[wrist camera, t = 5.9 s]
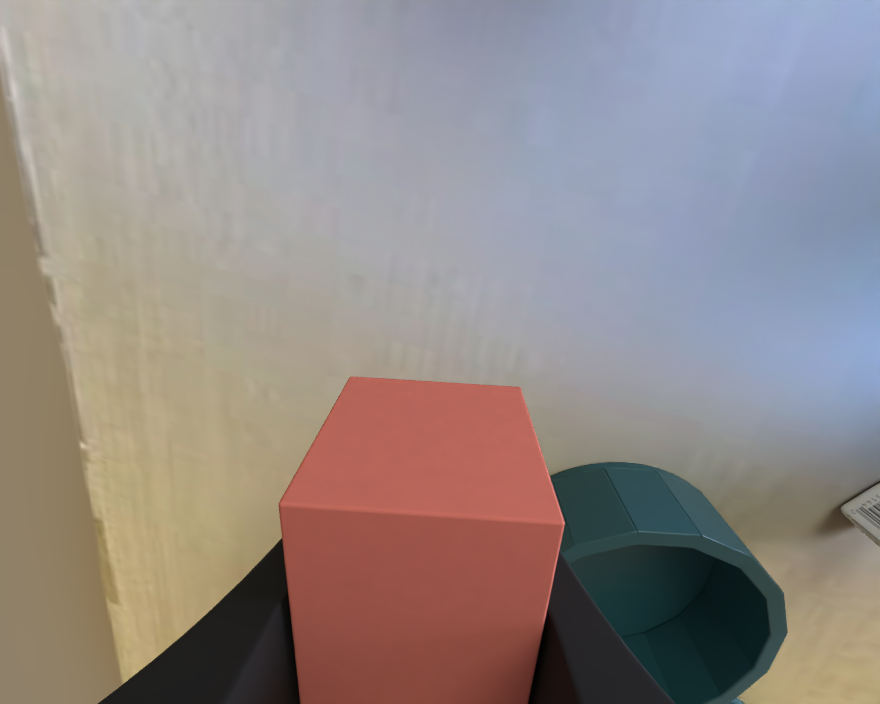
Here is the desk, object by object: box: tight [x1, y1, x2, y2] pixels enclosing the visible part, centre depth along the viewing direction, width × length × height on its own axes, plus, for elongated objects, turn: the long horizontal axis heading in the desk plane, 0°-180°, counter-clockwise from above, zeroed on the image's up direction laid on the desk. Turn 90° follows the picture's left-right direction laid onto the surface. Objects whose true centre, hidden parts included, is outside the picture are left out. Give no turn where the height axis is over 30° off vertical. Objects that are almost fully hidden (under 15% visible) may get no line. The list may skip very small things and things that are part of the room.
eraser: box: [279, 377, 565, 704], centre depth 9 cm, size 7×4×4 cm, turn 177°
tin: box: [550, 462, 788, 704], centre depth 20 cm, size 12×12×4 cm
